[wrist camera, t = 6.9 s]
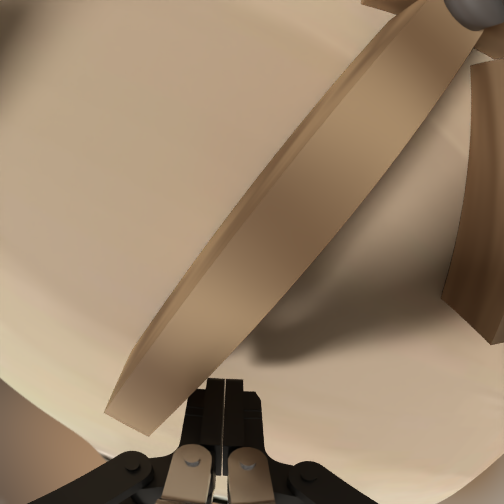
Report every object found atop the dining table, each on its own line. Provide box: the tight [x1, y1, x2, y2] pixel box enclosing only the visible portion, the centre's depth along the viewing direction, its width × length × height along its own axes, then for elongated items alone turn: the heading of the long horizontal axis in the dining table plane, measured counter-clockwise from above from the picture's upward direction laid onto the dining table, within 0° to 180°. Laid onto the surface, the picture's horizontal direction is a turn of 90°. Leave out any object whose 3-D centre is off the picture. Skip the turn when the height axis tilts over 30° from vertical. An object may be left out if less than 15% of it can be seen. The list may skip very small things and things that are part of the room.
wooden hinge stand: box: [361, 0, 504, 345], centre depth 9 cm, size 8×15×5 cm, turn 176°
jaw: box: [104, 0, 504, 436], centre depth 9 cm, size 20×2×5 cm, turn 143°
